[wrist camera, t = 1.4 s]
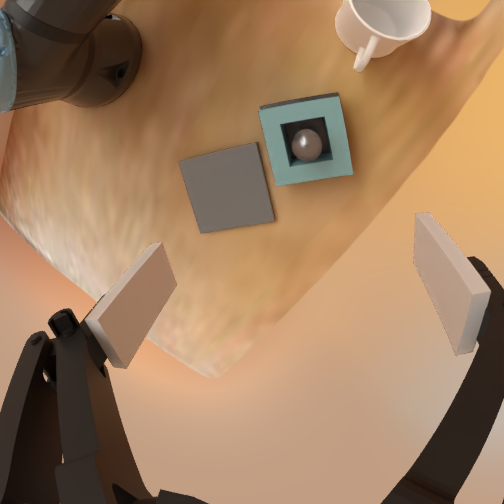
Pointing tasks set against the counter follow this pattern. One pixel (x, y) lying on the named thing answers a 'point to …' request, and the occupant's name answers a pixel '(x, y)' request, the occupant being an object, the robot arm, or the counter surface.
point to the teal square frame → (278, 145)
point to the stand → (306, 132)
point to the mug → (380, 26)
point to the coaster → (228, 188)
